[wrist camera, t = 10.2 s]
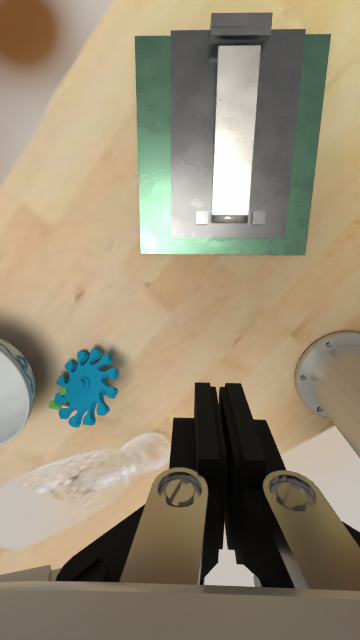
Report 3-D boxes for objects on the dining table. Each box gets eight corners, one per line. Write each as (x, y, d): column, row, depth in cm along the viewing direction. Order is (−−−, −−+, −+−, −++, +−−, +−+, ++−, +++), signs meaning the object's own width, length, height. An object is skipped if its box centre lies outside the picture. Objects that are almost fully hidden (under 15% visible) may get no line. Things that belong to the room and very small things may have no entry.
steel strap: (258, 50, 27) (260, 44, 26) (246, 223, 32) (247, 223, 31) (217, 51, 27) (218, 45, 26) (211, 222, 32) (211, 222, 31)
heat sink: (328, 37, 32) (369, -20, 24) (303, 254, 38) (329, 260, 31) (135, 39, 32) (120, -17, 25) (141, 253, 38) (130, 258, 31)
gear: (106, 335, 40) (117, 410, 35) (133, 348, 44) (145, 416, 40) (44, 366, 43) (45, 440, 38) (75, 375, 48) (79, 441, 43)
